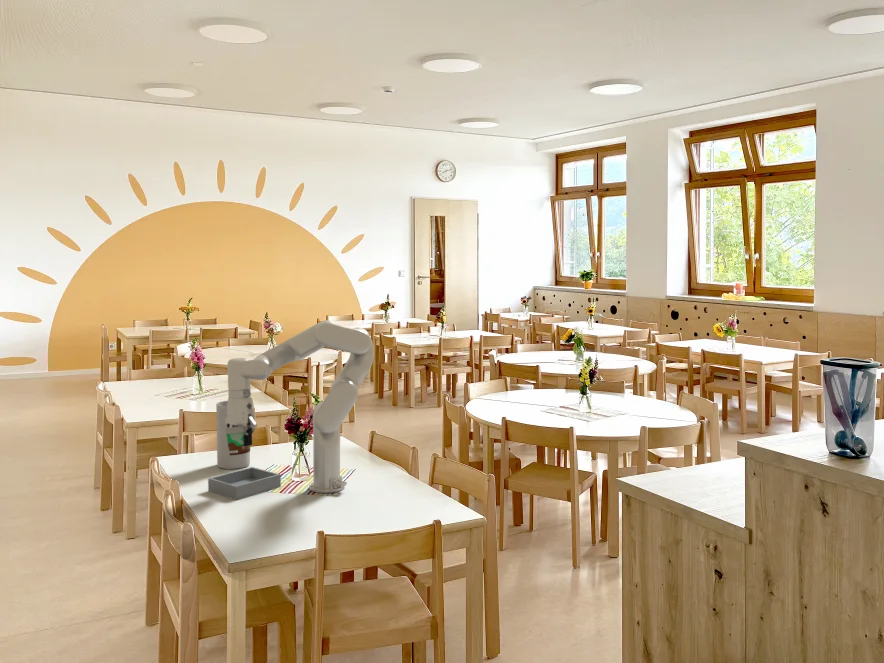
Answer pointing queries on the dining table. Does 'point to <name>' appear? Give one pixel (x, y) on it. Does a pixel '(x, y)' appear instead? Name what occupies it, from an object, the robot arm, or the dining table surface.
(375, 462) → the dining table surface
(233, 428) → the food container
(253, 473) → the bin
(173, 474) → the dining table surface
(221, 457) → the cylinder vase
